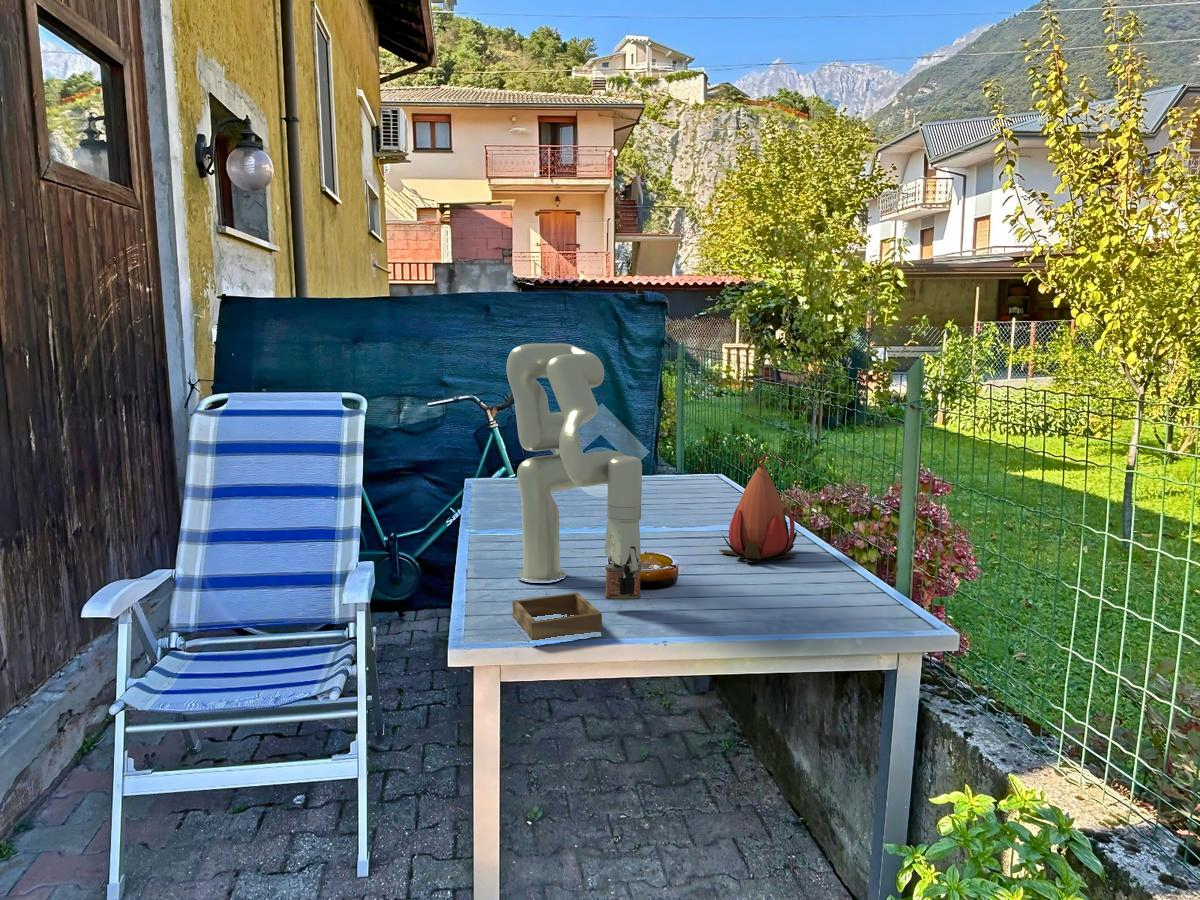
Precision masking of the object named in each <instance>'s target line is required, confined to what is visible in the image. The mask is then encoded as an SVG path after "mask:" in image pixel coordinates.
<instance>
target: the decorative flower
mask: <svg viewBox="0 0 1200 900" xmlns="http://www.w3.org/2000/svg"><path fill="white" fill-rule="evenodd" d="M748 452H750V453H751V452H752V453H755V454H756V456H755V457H754V461H753V467H754V468H755V467H756V459H757V458H758V462H759V466H758V467H757V469H756V470H755V471H754V473H753V474H752V476H751V478H750V480H749V481H748V483H747V485H746V486H745V489H744V490H743V493H742V495H741V497H740V499H739V502H738V505H737V506H736V508H735V511H734V512H733V516H732V518H731V520H730V524H729V529H728V540H727V539H726V537H725V536H724V535H723V534H722V532H721V536H722V538H723V540H724V541H725V542H726V544H727V546H728V547H729V550H728V549H718V551H719V552H721V553H723V554H726V555H727V554H728V555H734V556H736V557H739V558H743V561H745V562H749V563H757V562H758V563H759V562H762V559H771V560H776V559H787V558H792V557H793V558H794V557H796V556H798V553H793V552H792V553H789V552H790V551H791V550H793V548H794V546H795V544H794V542H795V540H797V539H796V538H797V533H798V532H797V531H796V532H795V529H796V527H795V519H794V515H793V514H792V511H791V510H790V509H789V508H788V506H787V505H785V510H786V513H785V510H784V506H783V503H782V499H781V498H780V496H779V492H778V490H777V487H776V486H775V484H774V481H773V480H772V477H771V475H770V474H769V472H768V471H767V468H766V467H764V466H765V461H766V459H767V457H768V456H770V454H772V453H773V454H774V455H775V462H779V458H778V455H779V457H780V458H781V459H780V460H781V466H782V467H783V466H784V461H783V456H782V455H781V454H780V453H779V452H777V451H774V450H773V449H770V450H768V451H766V452H765V453H764V454H763V455H762V456H761V458H760V457H759V454H757V452H755V451H754V450H747V451H746V452H744V454H743V455H742V457H741V458H740V463H741V464H743V462H744V460H743V459H744V456H745V455H746V454H747V453H748ZM768 452H769V453H768ZM767 453H768V454H767ZM777 454H778V455H777ZM786 514H787V516H788V517H787V518H788V520H789V524H788V522H787V519H786ZM788 525H789V526H788Z"/></svg>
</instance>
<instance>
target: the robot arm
mask: <svg viewBox="0 0 1200 900" xmlns="http://www.w3.org/2000/svg"><path fill="white" fill-rule="evenodd" d="M505 367H506V375H507V376H506V377H507V381H508V383H509V387H510V390H511V393H512V397H513V400H514V409H515V410H514V411H515V418H516V425H517V427H516V428H517V436H518V440H519V444H520V446H521V447H522V449H524V450H525V451H529V452H541V451H542V452H544V451H551V450H554V451H555V454H550V455H548V454H547V455H541V456H540V455H539V456H533V457H529V458H526V459H525V460H523V461H522V462H520V464H519V465H518V468H517V470H516V471H517V472H516V477H517V484H518V489H519V493H520V501H521V520H522V521H521V524H522V525H521V529H522V569H521V570H520V571H519V572H523V573H518V572H517V574H518V576H519V577H521V578H522V579H525V580H529V581H551V580H557V579H560V578H563V577H564V576H566V577H567V571H566V570H564V569H562V568H561V543H560V541H561V539H560V538H561V536H560V534H561V533H560V531H561V529H560V509H559V505H557V502H556V501H555V500H554V498H553V496H552V494H553V493H556V492H562V491H569V490H574V489H576V488H578V487H580V488H586V487H587V488H588V487H594V486H599V485H600V486H601V485H607V508H606V509H607V517H606V518H607V521H606V522H607V523H606V528H605V529H606V530H605V543H604V544H605V545H604V554H605V556H606V557H607V558H608V559H609V556H611V560H612V561H613V562H611V564H614V562H615V563H616V564H617V565H619V566H621V570H622V577H620V594H621V595H627V594H633V593H634V577H635V572H636V571H637V570H638V565H637V564H639V563H640V559H641V532H640V531H641V530H640V520H641V518H642V493H643V492H642V489H643V488H642V487H643V485H642V484H643V482H642V481H643V464H642V460H641V459H640V458H639V457H636V456H632V455H626V454H625V453H622V452H620V451H618V450H604V451H603V450H602V451H595V452H594V451H592V452H585V453H584V451H583V449H582V446H581V439H580V432H579V431H580V430H579V428H580V427H582V426H583V425H585V424H587V423H588V422H589V421H591V420H593V418H594V417H596V415H597V414H598V412H599V406H598V403H597V401H596V398H595V396H594V393H593V392H592V389H593V388H597V387H599V386H601V384H602V383H603V381H604V378H605V369H604V365H603V363H602V361H601V360H600V358H599V357H598V356H597V355H595V354H594V353H592V352H591V351H587V350H585V349H583V348H581V347H578V346H575V345H573V344H570V343H565V342H564V343H560V342H559V343H557V342H556V343H544V342H543V343H540V342H538V343H537V342H536V343H525V344H521V345H518V346H516V347H514V348H513V349H512V350H511V351H510V352H509V354H508V357H507V360H506V366H505ZM539 378H547V379H548V382H549V384H550V387H551V390H552V391H553V394H554V396H555V399H556V402H557V404H558V407H559V409H560V411H557V412H551V411H550V407H549V399H548V398H549V397H548V394H547V393H546V390H545V389H544V387H543V386H542V384H541V383H540V382H539V381H538V380H537V379H539ZM627 561H630V563H626V562H627ZM628 566H630V567H629V568H627V570H626V568H625V567H628ZM526 578H528V579H526Z"/></svg>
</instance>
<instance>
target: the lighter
mask: <svg viewBox="0 0 1200 900" xmlns="http://www.w3.org/2000/svg"><path fill="white" fill-rule="evenodd" d="M608 562H609V563H610V564H605V569H604V570H605V594H604V599H606V600H610V601H611V600H612V601H636V600H640V599H642V598H641V595H642V594H641V570H642V565H641V564H639V563H638V564H637V565H638V570H637V571H636V572H635V577H634V593H633V594H627V595H621V594H620V577H622V570H621V566H619V565H617V564H616V563H615V562H614V564H612V562H613V561H612V560H611V556H609V558H608ZM626 563H630V561H627V562H626ZM629 567H630V566H628V567H625V568H626V570H627V568H629Z"/></svg>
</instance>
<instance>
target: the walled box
mask: <svg viewBox="0 0 1200 900" xmlns="http://www.w3.org/2000/svg"><path fill="white" fill-rule="evenodd" d="M553 614H561V615H565V614H567V617H564V616H563V617H561V618H554V619H547V620H540V621H535V620H534V619H533V618H532V617H537V616H545V615H553ZM570 615H574V616H570ZM513 618H514V619H515V620H516V621H517V623H518V624H519V625H520V626H521V627H522V629H523V630H524V631H525V632H526V633H527V634H528V636H529V637H530V638H531V640H539V639H545V638H551V637H557V636H565V635H574V634H584V633H591V632H601V631H602V632H603V613H602V612H601V611H599V610H598V609H597V608H596V606H594V605H592V603H591V602H589V601H588V599H586V598H585V597H583V595H581V594H580V593H579V592H571V593H564V594H563V593H561V594H554V595H547V596H539V597H532V598H525V599H516V600H512V619H513Z"/></svg>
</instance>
